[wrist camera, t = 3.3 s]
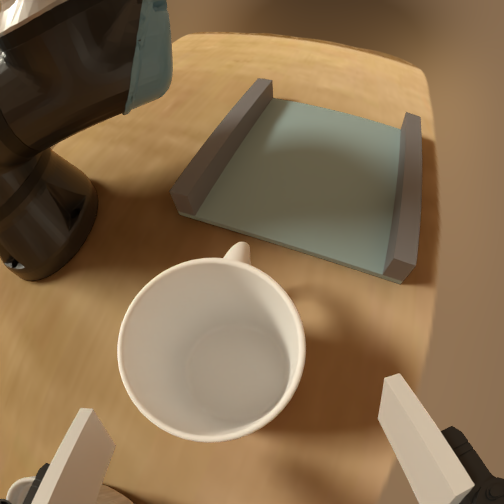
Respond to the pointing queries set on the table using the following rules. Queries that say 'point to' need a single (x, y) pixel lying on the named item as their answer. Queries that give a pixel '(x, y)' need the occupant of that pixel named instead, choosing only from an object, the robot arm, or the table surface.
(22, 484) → the ramekin
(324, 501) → the table surface
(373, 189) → the tray with side rails
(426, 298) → the table surface
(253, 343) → the mug
